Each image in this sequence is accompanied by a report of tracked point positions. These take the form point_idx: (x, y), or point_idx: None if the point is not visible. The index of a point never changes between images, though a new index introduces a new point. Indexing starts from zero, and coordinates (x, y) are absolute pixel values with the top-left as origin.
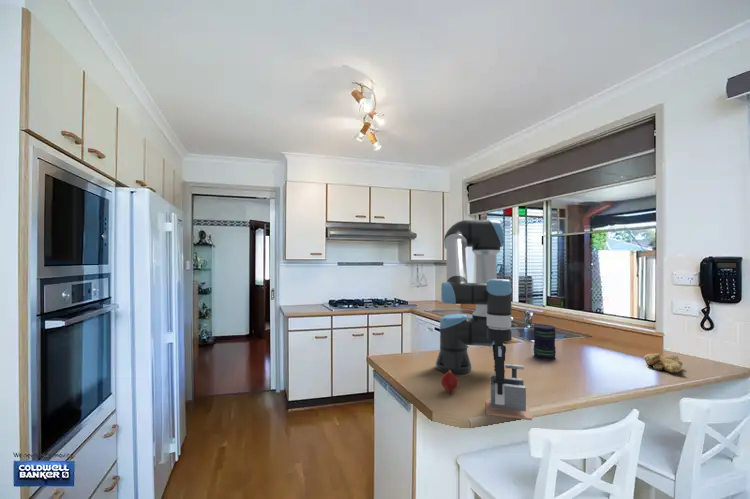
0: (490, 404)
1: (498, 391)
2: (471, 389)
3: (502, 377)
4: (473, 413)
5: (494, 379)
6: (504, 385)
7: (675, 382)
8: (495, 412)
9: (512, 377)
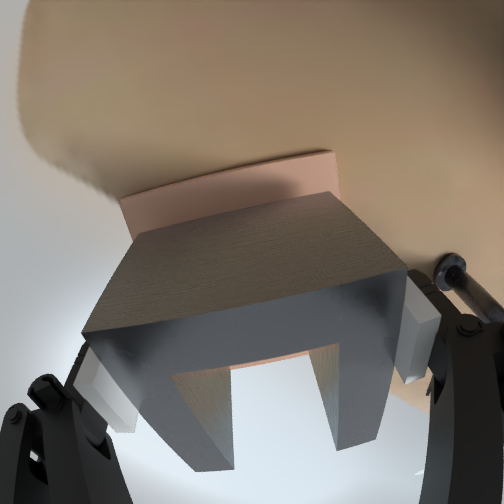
0: (259, 193)
1: (80, 359)
2: (462, 59)
3: (34, 474)
4: (99, 132)
5: (278, 334)
6: (150, 411)
7: None
8: None
9: (497, 317)
